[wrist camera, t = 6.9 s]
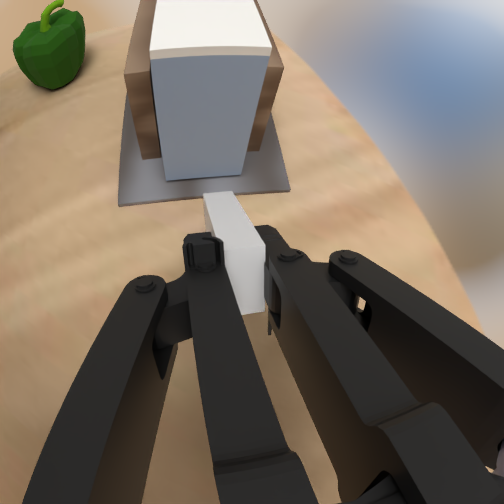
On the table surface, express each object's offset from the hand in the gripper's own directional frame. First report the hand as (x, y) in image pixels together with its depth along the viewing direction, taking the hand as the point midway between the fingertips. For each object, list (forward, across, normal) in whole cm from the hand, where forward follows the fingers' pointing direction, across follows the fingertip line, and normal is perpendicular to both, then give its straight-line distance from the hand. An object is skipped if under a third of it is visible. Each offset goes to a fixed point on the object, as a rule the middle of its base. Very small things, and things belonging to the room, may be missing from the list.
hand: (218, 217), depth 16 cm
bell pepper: (+23, -16, +12) cm, 30 cm away
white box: (+13, 0, +3) cm, 13 cm away
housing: (+15, 0, +5) cm, 16 cm away
